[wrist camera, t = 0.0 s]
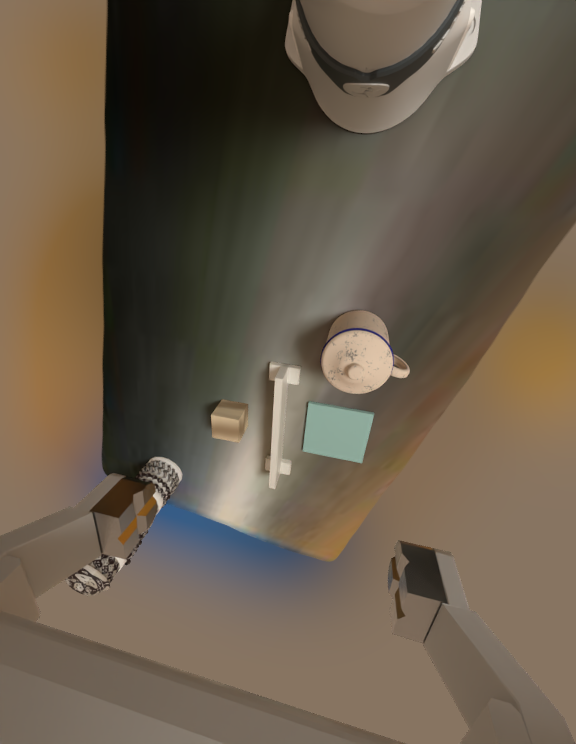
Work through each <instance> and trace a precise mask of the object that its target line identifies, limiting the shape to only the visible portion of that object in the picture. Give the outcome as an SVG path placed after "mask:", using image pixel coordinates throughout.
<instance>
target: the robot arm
mask: <svg viewBox="0 0 576 744" xmlns="http://www.w3.org/2000/svg"><path fill="white" fill-rule="evenodd" d="M481 3H482V0H292V6H291V11H290V13H289V22H288V28H287V33H286V39H285V48H286V52H287V55H288V57H289V59H290V61H291V62H292V63H293V64H294V65H295V66H296V67H297V68H298V69H299V70H300V71H301V72H302V73H303V74H304V75H305V76H306V78H307V80H308V82H309V84H310V86H311V89H312V91H313V94H314V96H315V98H316V100H317V102H318V104H319V106H320V107H321V109H322V110H323V111H324V113H325V114H326V115H327V116H328V117H329V118H330V119H331V120H332V121H333V122H334V123H336V124H337V125H339V126H340V127H342V128H344V129H347V130H349V131H353V132H357V133H375V132H380V131H383V130H386V129H389V128H391V127H393V126H395V125H397V124H399V123H400V122H402V121H404V120H405V119H406V118H408V117H409V116H410V115H411V114H413V113H414V112H415V111H416V110H417V109H418V108H419V107H420V106H421V105H422V103H423V102H424V101H425V100H426V99H427V97H428V96H429V95H430V93H431V92H432V91H433V89H434V88H435V87H436V85H437V84H438V83H439V82H440V81H441V80H442V79H443V78H444V77H446V76H447V75H449V74H450V73H452V72H453V71H455V70H456V69H457V68H459V67H460V66H461V65H463V64H464V63H465V62H466V61H467V60H468V59H469V58H470V57H471V55H472V54H473V52H474V49H475V47H476V44H477V40H478V31H479V22H480V13H481ZM155 492H156V489H155V484H153V483H150V482H147V481H143V480H139V479H135V478H132V477H128V476H123V475H119V474H116V473H113V474H110V475H108V476H107V477H106V478H105V479H104V480H103V481H102V482H101V483H100V484H99V485H97V486H96V488H94V489H93V490H92V491H91V492H90V493H89V494H88V495H87V496H86V497H85V498H84V499H82V500H81V502H79V503H78V504H77V505H76V506H75V507H74V508H73V507H68V508H66V509H63V510H61V511H58V512H56V513H54V514H51V515H49V516H47V517H44V518H42V519H39V520H37V521H35V522H32V523H30V524H27V525H25V526H23V527H20V528H18V529H15V530H13V531H11V532H9V533H6V534H4V535H1V536H0V744H406V743H402V742H399V741H396V740H393V739H390V738H387V737H384V736H381V735H378V734H375V733H372V732H369V731H366V730H363V729H360V728H357V727H354V726H351V725H348V724H345V723H342V722H339V721H336V720H332V719H329V718H326V717H323V716H320V715H317V714H314V713H311V712H308V711H305V710H302V709H299V708H296V707H293V706H290V705H287V704H284V703H281V702H278V701H274V700H272V699H268V698H265V697H262V696H259V695H256V694H253V693H250V692H247V691H244V690H241V689H238V688H235V687H232V686H229V685H226V684H223V683H220V682H217V681H214V680H211V679H208V678H205V677H202V676H198V675H195V674H192V673H189V672H186V671H183V670H180V669H177V668H174V667H171V666H168V665H165V664H162V663H159V662H156V661H153V660H149V659H147V658H144V657H141V656H137V655H135V654H131V653H128V652H126V651H122V650H119V649H116V648H113V647H110V646H107V645H104V644H101V643H98V642H95V641H91V640H89V639H86V638H83V637H80V636H77V635H74V634H71V633H68V632H65V631H61V630H58V629H55V628H52V627H49V626H46V625H43V624H40V623H37V622H36V621H37V620H38V619H39V618H40V610H39V607H38V604H37V602H36V598H37V597H39V596H40V595H42V594H43V593H45V592H46V591H48V590H49V589H51V588H52V587H54V586H56V585H57V584H59V583H60V582H61V581H63V580H65V579H66V578H68V577H69V576H71V575H72V574H74V573H75V572H77V571H78V570H80V569H81V568H83V567H84V566H86V565H87V564H89V563H91V562H92V561H94V560H95V559H97V558H98V557H100V556H101V554H105V555H109V556H113V557H117V558H121V559H127V557H128V556H129V554H130V553H131V552H132V550H133V549H134V548H135V546H136V545H137V544H138V542H139V534H141V533H143V532H145V531H146V530H148V528H149V527H150V526H151V524H152V523H153V520H154V518H155V516H156V513H157V501H156V499H155V498H154V497H153V495H154V493H155ZM388 592H389V594H390V595H391V597H392V599H393V601H392V604H391V607H390V616H391V627H392V634H394V635H397V636H401V637H404V638H407V639H410V640H413V641H417V642H420V643H423V644H424V645H423V646H424V647H425V650H426V651H427V653H428V655H429V657H430V659H431V660H432V662H433V664H434V666H435V667H436V669H437V671H438V673H439V675H440V676H441V678H442V680H443V682H444V684H445V686H446V687H447V689H448V691H449V693H450V695H451V697H452V698H453V700H454V702H455V704H456V706H457V707H458V709H459V711H460V713H461V715H462V716H463V718H464V720H465V722H466V723H467V725H468V727H469V730H468V732H467V733H466V735H465V736H464V738H463V739H462V741H461V742H460V744H575V742H574V739H573V737H572V735H571V732H570V730H569V728H568V726H567V723H566V721H565V718H564V717H563V716H562V715H561V713H560V712H559V711H558V710H557V709H556V707H555V706H554V705H553V704H552V703H551V701H550V700H549V699H548V698H547V697H546V696H545V694H544V693H543V692H542V691H541V690H540V688H539V687H538V686H537V685H536V684H535V682H534V681H533V680H532V679H531V678H530V676H529V675H528V674H527V673H526V671H525V670H524V669H523V668H522V667H521V665H520V664H519V663H518V662H517V661H516V659H515V658H514V657H513V656H512V655H511V654H510V652H509V651H508V650H507V649H506V648H505V646H504V645H503V644H502V643H501V642H500V641H499V639H498V638H497V637H496V636H495V634H493V632H492V631H491V630H490V628H489V627H488V626H487V625H486V624H485V622H484V621H483V620H482V619H481V618H480V617H479V615H478V614H477V613H476V612H475V611H472V610H470V609H469V606H468V603H467V600H466V596H465V593H464V589H463V586H462V583H461V580H460V577H459V573H458V570H457V567H456V564H455V560H454V557H453V555H452V554H451V552H447V551H443V550H439V549H434V548H431V547H426V546H422V545H417V544H413V543H408V542H404V541H399V540H398V541H397V543H396V545H395V557H393V558H391V561H390V565H389V570H388Z"/></svg>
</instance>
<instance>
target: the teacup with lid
mask: <svg viewBox="0 0 576 744" xmlns="http://www.w3.org/2000/svg"><path fill="white" fill-rule="evenodd" d="M394 365H396V366H397V367H398V368H396V367H394ZM321 368H322V371H323V373H324V375H325V377H326V378H327V380H328V381H329V382H330V383H331V384H332V385H333V386H335V387H336V388H338V389H339V390H342V391H344V392H348V393H354V394H361V393H367V392H370V391H373V390H375V389H377V388H379V387H380V386H381V385H383V384H384V383H385V382H386V380H387V379H388V378H389V376H390V375H391V376H394V377H397V378H405V377H407V376H408V374H409V372H410V369H409V366H408V365H407V364H406V362H405V361H403V360H402V359H401V358H399V357H398V356H396V355H394V354H393V351H392V349H391V347H390V344H389V338H388V332H387V328H386V326H385V324H384V323H383V321H382V320H381V319H380V318H379V317H378V316H376V315H375V314H373V313H371V312H368V311H363V310H355V311H350V312H347V313H345V314H343V315H341V316H340V317H338V318H337V319H336V320H335V322H334V323H333V324H332V326H331V328H330V331H329V335H328V338H327V342H326V344H325V346H324V348H323V350H322V353H321Z"/></svg>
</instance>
